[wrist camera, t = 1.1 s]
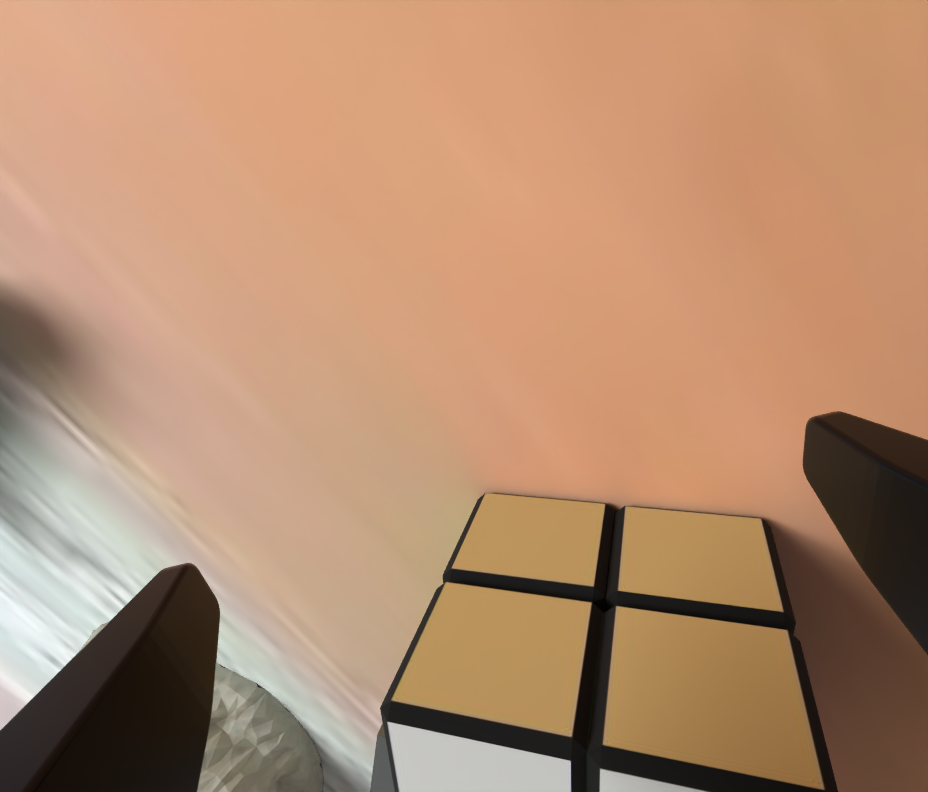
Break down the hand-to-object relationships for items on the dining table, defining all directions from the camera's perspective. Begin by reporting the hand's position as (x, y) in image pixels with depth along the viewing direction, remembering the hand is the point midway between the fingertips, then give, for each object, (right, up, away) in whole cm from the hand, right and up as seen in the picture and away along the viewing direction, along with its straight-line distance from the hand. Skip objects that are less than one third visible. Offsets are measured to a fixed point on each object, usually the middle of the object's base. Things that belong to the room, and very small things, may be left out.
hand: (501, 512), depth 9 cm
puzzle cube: (+5, -7, +15) cm, 17 cm away
